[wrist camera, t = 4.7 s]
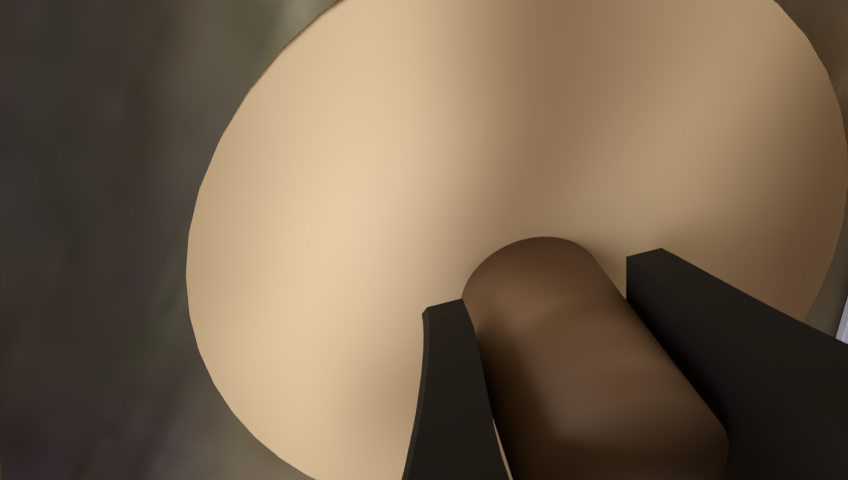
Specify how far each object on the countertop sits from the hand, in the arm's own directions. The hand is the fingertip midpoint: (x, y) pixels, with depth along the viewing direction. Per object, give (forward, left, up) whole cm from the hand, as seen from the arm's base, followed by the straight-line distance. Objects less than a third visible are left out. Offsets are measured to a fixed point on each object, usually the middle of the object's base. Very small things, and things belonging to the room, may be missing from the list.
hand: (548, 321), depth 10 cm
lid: (0, 0, -2) cm, 2 cm away
